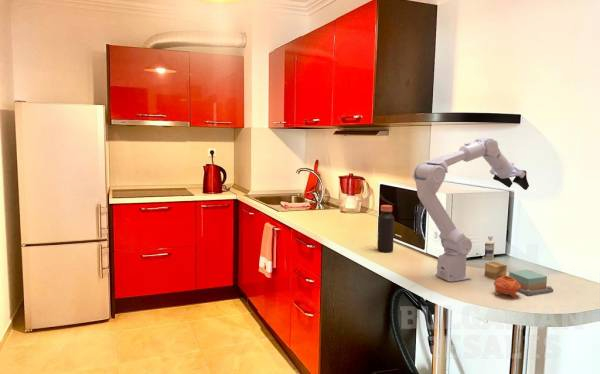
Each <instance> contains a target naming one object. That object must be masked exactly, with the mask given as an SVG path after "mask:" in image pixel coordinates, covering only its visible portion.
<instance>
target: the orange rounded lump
mask: <svg viewBox="0 0 600 374" xmlns="http://www.w3.org/2000/svg"><path fill="white" fill-rule="evenodd" d="M493 285H494V293H495V295H499V293H502V294H505V295H510V296H511V298H512V299H513V298H516V294H517V293H519V292H518V291H519V290H520V289H521V286H520V284H519V283H518V282H517V281H516V280H515V279H514V278H513V277H509V275H506V276H502V277H500V278H498V279H496V280H494V282H493Z"/></svg>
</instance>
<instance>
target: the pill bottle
mask: <svg viewBox="0 0 600 374" xmlns="http://www.w3.org/2000/svg"><path fill="white" fill-rule="evenodd" d="M488 239H489V241H487V242H486V243H485V255H484V256H483V257H482V258H481V259H483V260H493V259H494V258H495V257H494V255H495V241H494V235H493V236H488ZM492 240H493V241H492Z"/></svg>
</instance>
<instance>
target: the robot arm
mask: <svg viewBox="0 0 600 374" xmlns="http://www.w3.org/2000/svg"><path fill="white" fill-rule="evenodd" d="M478 158H483V159H484V160H485V161H486V162H487V163H488V165H489V167H491V168H490V169H489V172H490V174H491V175H493V177H492V179H493V180H495V181H497V182H498V183H500V184H502V185H504V186H506V187H507V188H509V189H510V188H511V187H512V185H513V183H515V184H517V185H519V186H520V187H521V189H523V190H524V191H527V190H528V189H529V187H530V184H529V181H528V177H527V174H528V173H527V171H526V170H524V169H519V168H518V167H516V166H515V163H514V162H510V161H509V160H508V159H507V157H506V156H505V155H504V154H503V152H502V151H501V150H500V148H499V143H498V141H497V140H494V138H486V137H485V138H484V137H483V138H482V137H481V138H476V139H475V140H474V141H473V142H471V143H470V142H465V143H464V144H463V145H462V146H460V147H459V149H458V151H455V152H452V153H451V152H450V153H449V154H444V155H441V156H439V157H435V158H432V159H427V160H425V161H424V162H423V163H419V164H417V165H416V166H415V168H414V170H413V175H412V179H413V180H414V182H415V185H416V193H417V197H418V199H419V201H420V202H421V204H422V205H423V207H424V209H425V210H426V212H427V213H428V215H429V217H430V218H431V220H432V221H433V223H434V224H435V227H437V229H438V230H439V232H440V234H439V236H438V237H439V239H440V244H441V246H442V248H443V251H444V253H443V254H441V255H439V256H438V258H437V266H436V267H437V268H436V273H435V276H436V277H438V278H441V279H442V280H445V281H446V282H447V281H448V282H449V283H451V282H452V283H453V282H458V281H465V280H471V278H472V277H470V276H468V275H467V274H466V271H467V269H466V268H467V256H468V255H469V253H470V252H471V250H472V248H473V243H472V240H471V239H470V238H469V237H467V236H466V235H465V234H464V233H463V232H462V231H461V230H460V229H458V228H457V227H456V225H455V224H454V222H453V221H452V218H451V217H450V215H449V214H448V213H447V211H446V209H445V207H444V206H443V204H442V203H441V201H440V199H439V198H438V196H437V194H436V193H438V191H439V190H440V188H441V186H442V184H443V182H444V180H445V179H446V174H447V173H448V172H449V171H448V168H449V167H450V166H453V165H454V164H457V163H459V162H462V161H463V162H465V163H467V162H471V161H473V160H475V159H478ZM513 177H514V178H513ZM511 178H513V180H512V179H511Z"/></svg>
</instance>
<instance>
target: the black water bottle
mask: <svg viewBox="0 0 600 374" xmlns="http://www.w3.org/2000/svg"><path fill="white" fill-rule="evenodd" d="M392 213H393V205H391V204H382V205H380V214H379V216H378V217H377V218H378V219H377V243H376V244H377V251H378V252H380V253H392V252H393V251H394V238H395V237H394V232H395V230H394V229H395V217H394V215H393V214H392Z"/></svg>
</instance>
